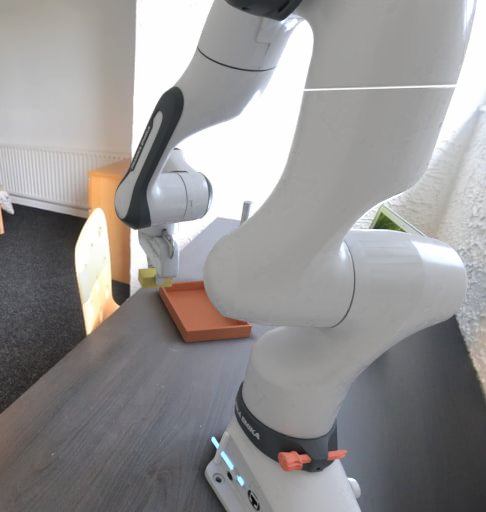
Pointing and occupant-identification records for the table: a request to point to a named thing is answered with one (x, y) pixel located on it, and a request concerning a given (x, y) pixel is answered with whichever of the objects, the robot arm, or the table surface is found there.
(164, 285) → the sponge
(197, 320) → the orange tray
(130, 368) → the table surface
